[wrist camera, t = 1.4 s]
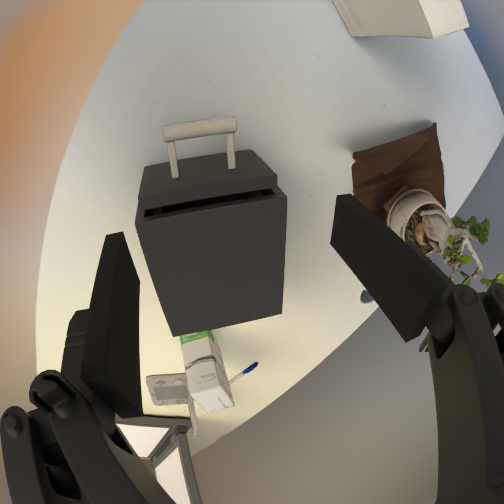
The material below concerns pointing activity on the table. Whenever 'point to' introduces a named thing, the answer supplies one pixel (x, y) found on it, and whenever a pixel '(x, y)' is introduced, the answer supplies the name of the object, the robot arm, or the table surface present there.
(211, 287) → the dark drawer cabinet
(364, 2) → the white packaging box
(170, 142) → the drawer
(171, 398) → the grey l-shaped stand
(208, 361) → the ink box
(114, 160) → the table surface
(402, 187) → the potted plant
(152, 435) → the grey document camera stand
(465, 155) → the table surface
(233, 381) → the ballpoint pen
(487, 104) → the table surface
